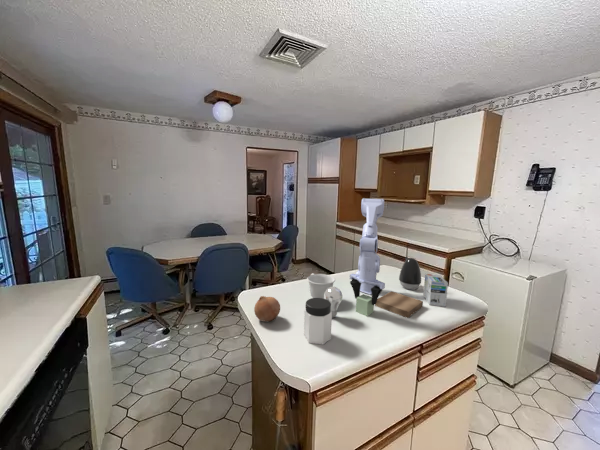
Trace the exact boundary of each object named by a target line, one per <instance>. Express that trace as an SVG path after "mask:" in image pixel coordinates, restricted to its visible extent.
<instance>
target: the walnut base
mask: <svg viewBox="0 0 600 450" xmlns="http://www.w3.org/2000/svg"><path fill="white" fill-rule="evenodd" d="M423 306H424V301H423V300H420V299H417V298H414V297H412V296H411V297H410V296H408V295H404V294H401V293H398V292H395V291H392V290H391V291H389V292H388V293H385V294H384V295H382V296H380V297H378V299H377V302H376V304H375V305H374V307H377V308H380V309H383V310H385V311H388V312H391V313H393V314H396V315H399V316H401V317H403V318H406V319H409V318H411V316H412V315H414V314H416V313H417V312H418V311H420V310H421V309H422V308H423Z"/></svg>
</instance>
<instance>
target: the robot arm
mask: <svg viewBox="0 0 600 450" xmlns="http://www.w3.org/2000/svg"><path fill="white" fill-rule="evenodd" d="M360 205H361V206H360V208H361V209H360V211H361V214H362V217H365V218H366V223H364V224H363V226H362V234H361V238H360V239H359V256H358V264H357V271H356V272H355V273H350V274H349V280H350V281H349V284H350V285H351V288H352V291H353V294H354V295H353V296H354V299H356V298H357V297H359V296H361V292H362V293H364V294H366V295H371V297H372V305H374V306H375V304H376V302H377V299H378V298H380V297H379V296H380V295H381V292H382V291H383V290H384V289H385V288H386V283H385V282H382V281H380V280H378V279H377V274H379V273H380V271H381V270H380V269H381V267H380V266H381V257H380V255H379V254H377V252H378V247H379V240H378V230H379V229H378V225H377V222H378V219H379V218H381V217H383V216H384V212H385V211H384V210H385V200H384V198H365V197H363V198H362V199H361V203H360Z"/></svg>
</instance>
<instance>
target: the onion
mask: <svg viewBox="0 0 600 450" xmlns="http://www.w3.org/2000/svg"><path fill="white" fill-rule="evenodd" d="M280 311H281V304H280V302H279V300H278V299H276V297H273V296H264V295H262V296H261V295H260V297H259V299H258V300H257V301H256V303H255V305H254V308H253V312H254V314H255V317H256V318H257V320H259V321H260V322H261V321H262V322H264V323H265V322H266V323H268V322H269V323H272V322H273V321H276V319H277V318H278V316H279V315H280Z"/></svg>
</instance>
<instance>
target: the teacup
mask: <svg viewBox="0 0 600 450" xmlns="http://www.w3.org/2000/svg"><path fill="white" fill-rule="evenodd" d="M306 280H307V282H308V286H309V293H310V296H311V298H323V299H324V293H325V291H326V289H327V288H329V287H334V283H335V282H336V278H335V277H334V276H332V275H330V274H329V275H328V274H325V273H311V274H310V275H309V276H307V278H306Z"/></svg>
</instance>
